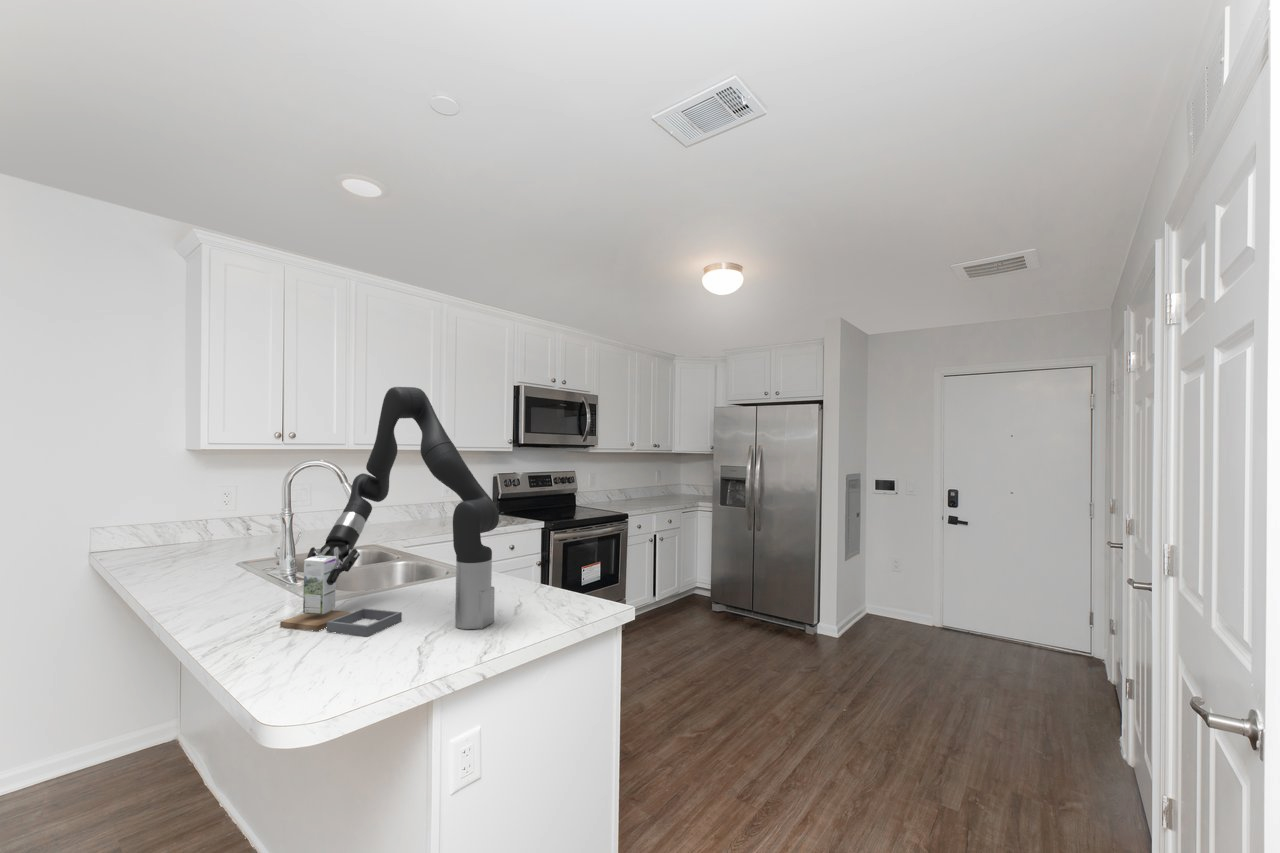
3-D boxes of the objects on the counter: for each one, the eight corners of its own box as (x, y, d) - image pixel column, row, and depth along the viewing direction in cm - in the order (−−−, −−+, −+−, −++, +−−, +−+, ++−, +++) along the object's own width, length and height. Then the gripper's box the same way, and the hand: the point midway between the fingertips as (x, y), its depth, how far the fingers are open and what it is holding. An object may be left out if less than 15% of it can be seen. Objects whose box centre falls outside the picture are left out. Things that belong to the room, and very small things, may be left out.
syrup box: (336, 608, 154) (337, 555, 154) (322, 615, 148) (323, 559, 148) (316, 607, 154) (318, 554, 155) (301, 614, 148) (303, 559, 149)
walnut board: (352, 617, 155) (353, 612, 155) (317, 631, 143) (317, 625, 143) (317, 613, 158) (318, 608, 158) (280, 627, 147) (280, 621, 147)
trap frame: (401, 621, 152) (401, 612, 152) (367, 636, 140) (367, 626, 140) (363, 617, 156) (363, 608, 156) (326, 631, 144) (326, 621, 144)
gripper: (317, 522, 161) (286, 574, 149) (364, 524, 159) (337, 576, 147) (328, 538, 166) (299, 589, 154) (375, 539, 164) (349, 591, 152)
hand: (318, 582), depth 150 cm, fingers closed on syrup box, 5 cm apart
